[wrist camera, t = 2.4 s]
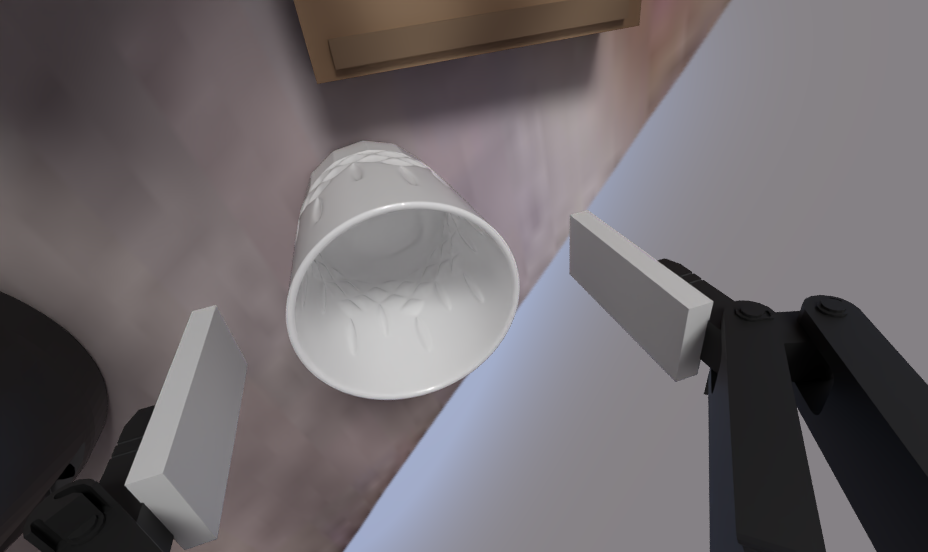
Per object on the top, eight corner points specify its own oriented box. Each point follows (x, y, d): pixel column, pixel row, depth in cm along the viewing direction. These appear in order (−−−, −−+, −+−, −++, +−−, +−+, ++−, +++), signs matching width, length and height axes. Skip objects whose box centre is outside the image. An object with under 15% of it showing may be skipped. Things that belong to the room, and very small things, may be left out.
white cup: (470, 221, 25) (550, 323, 17) (353, 296, 26) (379, 432, 17) (395, 94, 21) (456, 150, 13) (255, 185, 21) (225, 300, 13)
